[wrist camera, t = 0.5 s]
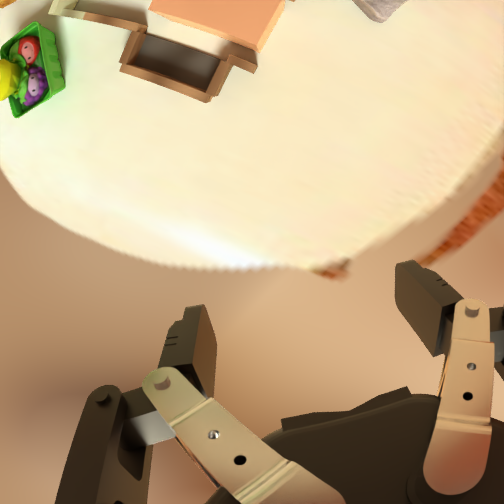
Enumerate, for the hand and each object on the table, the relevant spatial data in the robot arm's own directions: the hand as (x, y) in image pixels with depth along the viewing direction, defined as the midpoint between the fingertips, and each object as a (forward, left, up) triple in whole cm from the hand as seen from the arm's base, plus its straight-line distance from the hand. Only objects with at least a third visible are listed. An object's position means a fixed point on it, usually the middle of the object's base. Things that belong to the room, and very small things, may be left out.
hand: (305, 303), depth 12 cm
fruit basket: (-30, -19, -27) cm, 44 cm away
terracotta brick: (-18, +4, -27) cm, 32 cm away
